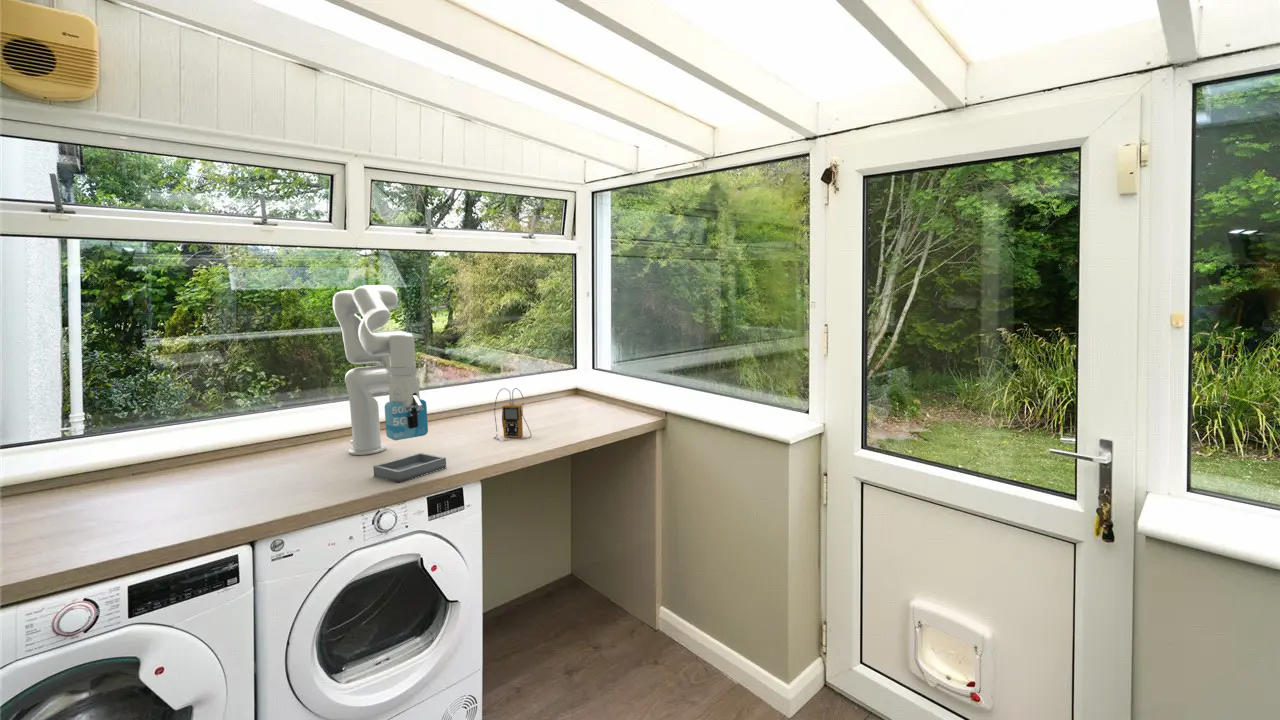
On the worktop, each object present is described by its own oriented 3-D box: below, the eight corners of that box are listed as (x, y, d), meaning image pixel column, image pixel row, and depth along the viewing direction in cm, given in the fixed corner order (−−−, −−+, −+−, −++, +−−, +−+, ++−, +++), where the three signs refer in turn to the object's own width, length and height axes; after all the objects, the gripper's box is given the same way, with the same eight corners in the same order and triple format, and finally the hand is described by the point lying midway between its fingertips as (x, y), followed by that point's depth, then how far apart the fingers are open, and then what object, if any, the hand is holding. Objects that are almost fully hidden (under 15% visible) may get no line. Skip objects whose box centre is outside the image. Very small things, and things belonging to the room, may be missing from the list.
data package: (391, 441, 188) (388, 404, 186) (386, 438, 191) (383, 402, 190) (428, 434, 196) (426, 399, 194) (423, 432, 199) (421, 397, 198)
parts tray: (374, 476, 191) (373, 466, 190) (421, 462, 206) (420, 452, 205) (399, 483, 184) (398, 472, 183) (446, 467, 199) (445, 457, 198)
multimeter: (487, 442, 233) (485, 391, 230) (497, 435, 242) (495, 387, 240) (523, 442, 230) (521, 392, 228) (532, 436, 240) (530, 387, 238)
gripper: (376, 371, 193) (380, 426, 195) (410, 374, 183) (413, 432, 185) (397, 368, 199) (400, 421, 201) (430, 371, 189) (433, 427, 192)
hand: (407, 426), depth 193 cm, fingers closed on data package, 5 cm apart
